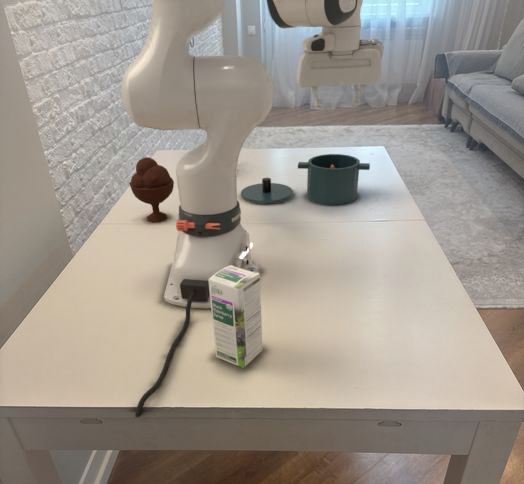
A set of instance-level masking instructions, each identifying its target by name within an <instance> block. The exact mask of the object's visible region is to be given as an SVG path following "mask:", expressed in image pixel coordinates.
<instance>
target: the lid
mask: <svg viewBox="0 0 524 484" xmlns="http://www.w3.org/2000/svg"><path fill="white" fill-rule="evenodd" d="M293 194H294V190H293V188H292V187H291V186H288V185H286V184H282V183H277V182H272V179H271V178H270V177H263V178H261V183H255V184H251V185H247V186H246V187H244V188H243V189H241V191H240V196H241V198H242V199H244V200H246V201H248V202H251V203H257V204H271V203H272V204H273V203H279V202H284V201H286V200H288V199H290V198H292V196H293Z"/></svg>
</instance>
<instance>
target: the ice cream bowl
mask: <svg viewBox="0 0 524 484" xmlns="http://www.w3.org/2000/svg"><path fill="white" fill-rule="evenodd" d="M128 184H129V186H130V189H131V192H132V194H133V196H134V197H135V198H136V199H137V200H138V201H140V202H142V203H144V204H147V205H150V206H151V209H152V212H151V213H150V214H148V216H146V221H147V222H148V223H152V224H158V223H162V222H166V221H167V220H168V219H169V217H168V215H167V214H166V213H164V212H162V211H160V204H161V203H163V202H164V201H166V200H167V199H168V198H169V197H170V196H171V195H172V194H173V191H174V188H175V187H174V186H175V185H174V184H175V181H174V179H173V178H172V177H171V174H170V172H169V171H168V169H167V168H166V167H164V166H163V165H160V164H158V163H157V161H156V160H155V159H153V158H152V157H147V156H146V157H142V158H141V159H139V160H138V161H137V162H136V166H135V173H134V174H133V175H132V176H131V179H130V182H128Z"/></svg>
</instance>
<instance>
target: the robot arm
mask: <svg viewBox="0 0 524 484" xmlns="http://www.w3.org/2000/svg"><path fill="white" fill-rule="evenodd" d="M363 2H364V0H266V6H267V10H268V13H269V16H270V18H271V20H272V21H273V22H274V24H275V25H276V26H277V27H278V28H280V29H293V28H318V27H319V28H321V32H319V33H316V34H314V35H311V36H309V37H306V38H304V39H303V40H302V44H301V45H302V50H303V51H302V52H301V53H300V55H299V58H298V62H297V67H296V68H297V69H296V83H297V85H298V86H299V87H300V88H310V92H311V94H312V96H313V98H314V107H315V108H322V107H323V104H322V103H323V99H322V98H321V97H319V96H318V94H317V93H318V92H319V88H320V87H340V86H342V87H344V86H357V89H358V91H357V93H356V94H355V96H353V95H352V99H351V100H352V101H351V105H352V106H360V102H361V97H362V96H363V94H364V93H365V90H366V85H377V84H379V82H380V81H381V79H382V58H383V56H384V50H385V49H384V44H383V42H382V41H380V40H379V39H377V38H373V39H361V31H362V29H361V28H362V19H361V10H362V6H363ZM150 3H151V16H150V25H149V29H148V33H147V37H146V39H145V42H144V45H143V46H142V48H141V50H140V51H139V53H138V55H137V56H136V57H135V58H134V60H133V61H132V62H131V63H130V64H129V65H128V66H127V68H126V69H125V71H124V74H123V75H122V79H121V83H120V96H121V102H122V105H123V107H124V110H125V112H126V114H127V115H128V117H129V118H130V120H131V121H133V123H135V125H137V126H138V127H142V128H147V129H154V130H160V131H182V130H202V131H205V133H206V138H205V140H204V141H203V142H202V143H201V144H199V145H197V146H196V147H194V148H192V149H190V150H189V151H187V152H186V153H185V154H184V155H182V156H181V158H179V160H178V163H177V164H176V169H175V170H176V171H175V175H176V182H177V183H176V184H177V190H178V197H179V205H178V214H177V215H178V216H177V217H178V218H177V220H176V224H175V227H176V230H177V238H176V244H175V251H174V257H173V262H172V263H171V267H170V271H169V275H168V279H167V283H166V286H165V291H164V295H163V298H164V302H166V303H169V304H171V305H173V306H177V307H184V308H185V319H184V322H183V325H182V328H181V330H180V331H179V334H177V336H176V338H175V339H174V341H173V342H172V344H171V345H170V348H169V350H168V353H167V356H166V359H165V361H164V364H163V367H162V369H161V372H160V374H159V376H158V378H157V380H156V382H155V383H154V384H153V385H152V386H151V387H150V388H149V389H148V390H146V392H144V394H143V395H142V396H141V397H140V399H139V401H138V404H137V406H136V409H135V416H134V417H135V418H140V417H141V416H142V412H143V408H144V405H145V404H146V402H147V401H148V399H149V398H150V397H151V396H152V395H153V394H154V393H156V391H158V389H159V388H160V386H162V383H163V381H164V379H165V377H166V375H167V373H168V370H169V368H170V365H171V361H172V359H173V356H174V353H175V351H176V349H177V346H178V345H179V343H180V341H181V340H182V339H183V337H184V336H185V334H186V332H187V330H188V327H189V324H190V320H191V309H192V308H193V309H211V301H210V292H209V278H211V277H212V276H213V275H214V274H216V273H217V272H219V271H220V270H222V269H224V268H225V267H228V266H230V265H232V266H235V267H238V268H241V269H245V270H248V271H251V272H254V273H260V267H259V265H258V264H256V263H254V262H253V261H252V251H251V250H252V248H253V247H254V245H253V242H250V233H249V232H248V231H247V230H246V228H244V227H243V225H242V223H241V221H242V218H241V217H242V210H241V206H240V201H239V200H238V191H237V188H238V187H237V186H238V184H237V182H238V180H237V177H238V176H237V175H238V163H239V157H240V155H241V151H242V148H243V146H244V144H245V143H246V140H247V139H248V138H249V136H250V134H251V133H252V132H253V131H254V130H255V129H256V128H257V127H258V126H259V125H260V124H262V122H264V120H265V119H266V118H267V116H268V115H269V114H270V112H271V110H272V107H273V103H274V99H275V86H274V81H273V76H272V75H271V73H270V70H269V69H268V67H267V66H266V64H265V63H264V62H263V61H262V60H260V59H256V58H253V57H249V56H242V55H235V54H229V55H228V54H227V55H202V56H196V55H192V54H191V53H190V44H191V41H192V40H193V39H194V38H195V37H196V36H197V35H200V33H202V32H204V31H205V30H207V29H208V28H210V27H211V26H212V25H213V24H214V23H216V22H217V21H218V20H219V19H220V17H221V15H222V13H223V11H224V8H225V3H226V0H150Z"/></svg>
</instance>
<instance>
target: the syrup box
mask: <svg viewBox="0 0 524 484" xmlns="http://www.w3.org/2000/svg"><path fill="white" fill-rule="evenodd" d="M209 292H210V301H211V308H210V309H211V315H212V316H211V317H212V318H211V319H212V327H213V338H214V348H215V357H216V359H220V360H223V361H225V362H227V363H230V364H232V365H234V366H237V367H239V368H242V369H244V368H246V366H248V365H249V364H250V363H251V362H252V361H253V360H254V359H256V357H257V356H258V355H260V354H261V353H262V352H263V327H262V297H261V293H262V292H261V272H259V273H254V272H251V271H248V270H245V269H241V268H238V267H235V266H232V265H230V266H228V267H225V268H224V269H222V270H220V271H219V272H217V273H216V274H214V275H213V276H212V277H211V278H209Z"/></svg>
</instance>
